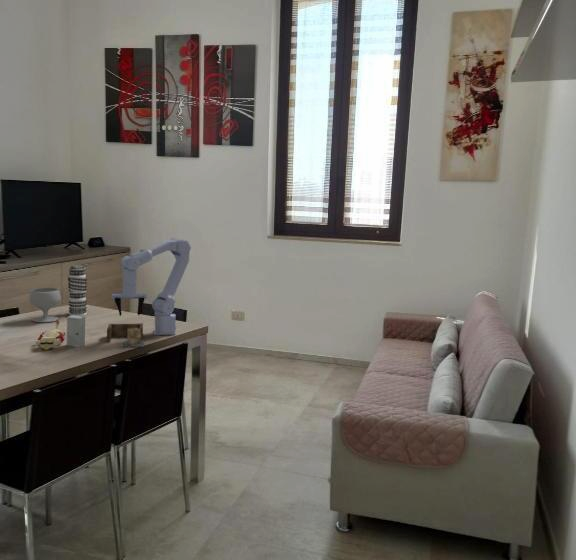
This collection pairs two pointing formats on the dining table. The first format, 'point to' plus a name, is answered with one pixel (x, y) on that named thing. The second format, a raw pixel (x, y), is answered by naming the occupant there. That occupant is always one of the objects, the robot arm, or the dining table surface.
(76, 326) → the skincare box
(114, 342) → the dining table surface
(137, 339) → the oak block
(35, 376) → the dining table surface
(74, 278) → the decorative candle
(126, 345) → the mat
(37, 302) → the chalice
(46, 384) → the dining table surface
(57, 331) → the cat figure
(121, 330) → the brown wooden arch
